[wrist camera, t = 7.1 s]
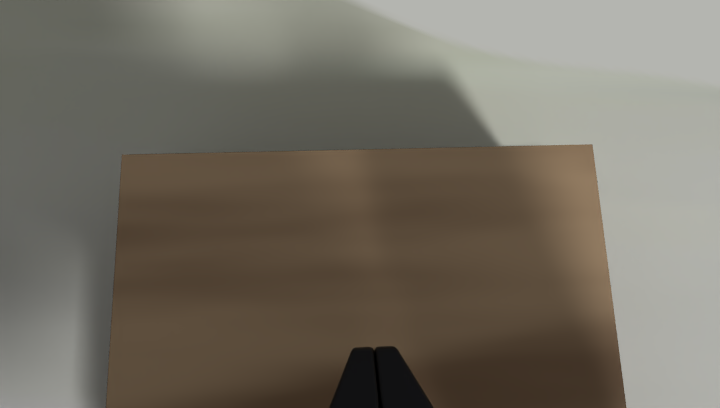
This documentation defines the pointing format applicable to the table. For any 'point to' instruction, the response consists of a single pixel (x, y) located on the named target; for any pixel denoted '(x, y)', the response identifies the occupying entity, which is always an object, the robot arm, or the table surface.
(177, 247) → the walnut block
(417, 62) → the table surface
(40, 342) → the table surface
